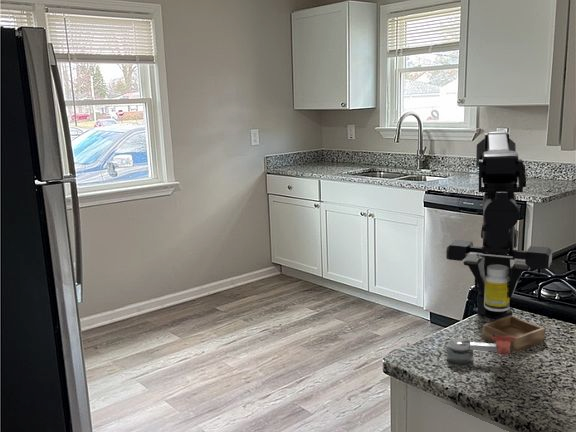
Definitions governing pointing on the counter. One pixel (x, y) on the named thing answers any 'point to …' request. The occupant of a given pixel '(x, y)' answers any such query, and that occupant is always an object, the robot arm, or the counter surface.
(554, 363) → the counter surface
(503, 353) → the crank
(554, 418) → the counter surface
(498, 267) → the supplement bottle
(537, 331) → the tray
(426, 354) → the counter surface
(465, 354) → the block
